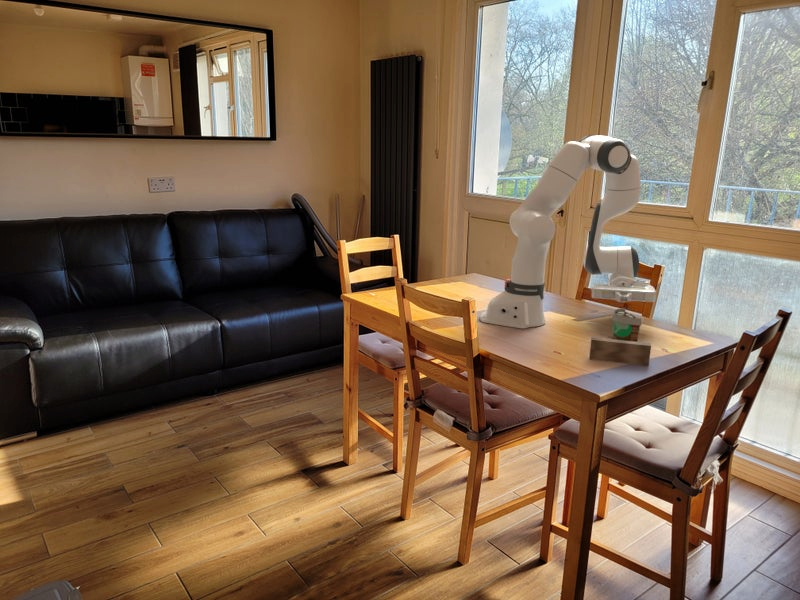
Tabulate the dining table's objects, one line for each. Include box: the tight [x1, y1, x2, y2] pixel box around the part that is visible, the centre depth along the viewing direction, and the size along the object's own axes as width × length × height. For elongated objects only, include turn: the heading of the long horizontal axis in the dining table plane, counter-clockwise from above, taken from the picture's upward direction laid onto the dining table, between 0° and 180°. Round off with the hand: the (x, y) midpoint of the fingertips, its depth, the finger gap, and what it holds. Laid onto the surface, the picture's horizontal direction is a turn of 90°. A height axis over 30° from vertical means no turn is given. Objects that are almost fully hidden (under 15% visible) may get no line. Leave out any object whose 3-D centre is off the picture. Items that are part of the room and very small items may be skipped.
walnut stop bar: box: [589, 336, 652, 367], centre depth 172 cm, size 16×2×6 cm, turn 73°
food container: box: [610, 307, 642, 342], centre depth 187 cm, size 12×6×10 cm, turn 4°
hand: (623, 298), depth 196 cm, fingers closed
